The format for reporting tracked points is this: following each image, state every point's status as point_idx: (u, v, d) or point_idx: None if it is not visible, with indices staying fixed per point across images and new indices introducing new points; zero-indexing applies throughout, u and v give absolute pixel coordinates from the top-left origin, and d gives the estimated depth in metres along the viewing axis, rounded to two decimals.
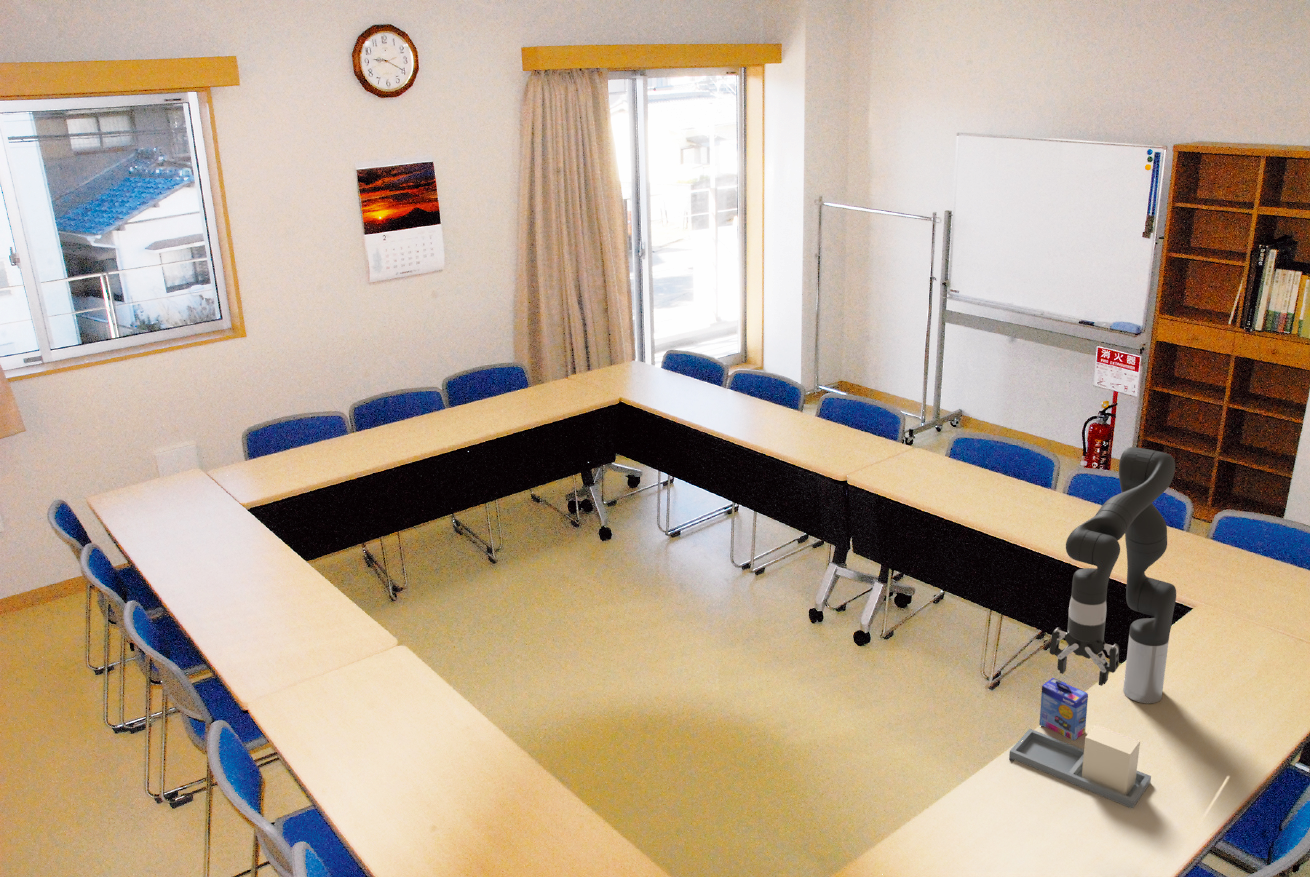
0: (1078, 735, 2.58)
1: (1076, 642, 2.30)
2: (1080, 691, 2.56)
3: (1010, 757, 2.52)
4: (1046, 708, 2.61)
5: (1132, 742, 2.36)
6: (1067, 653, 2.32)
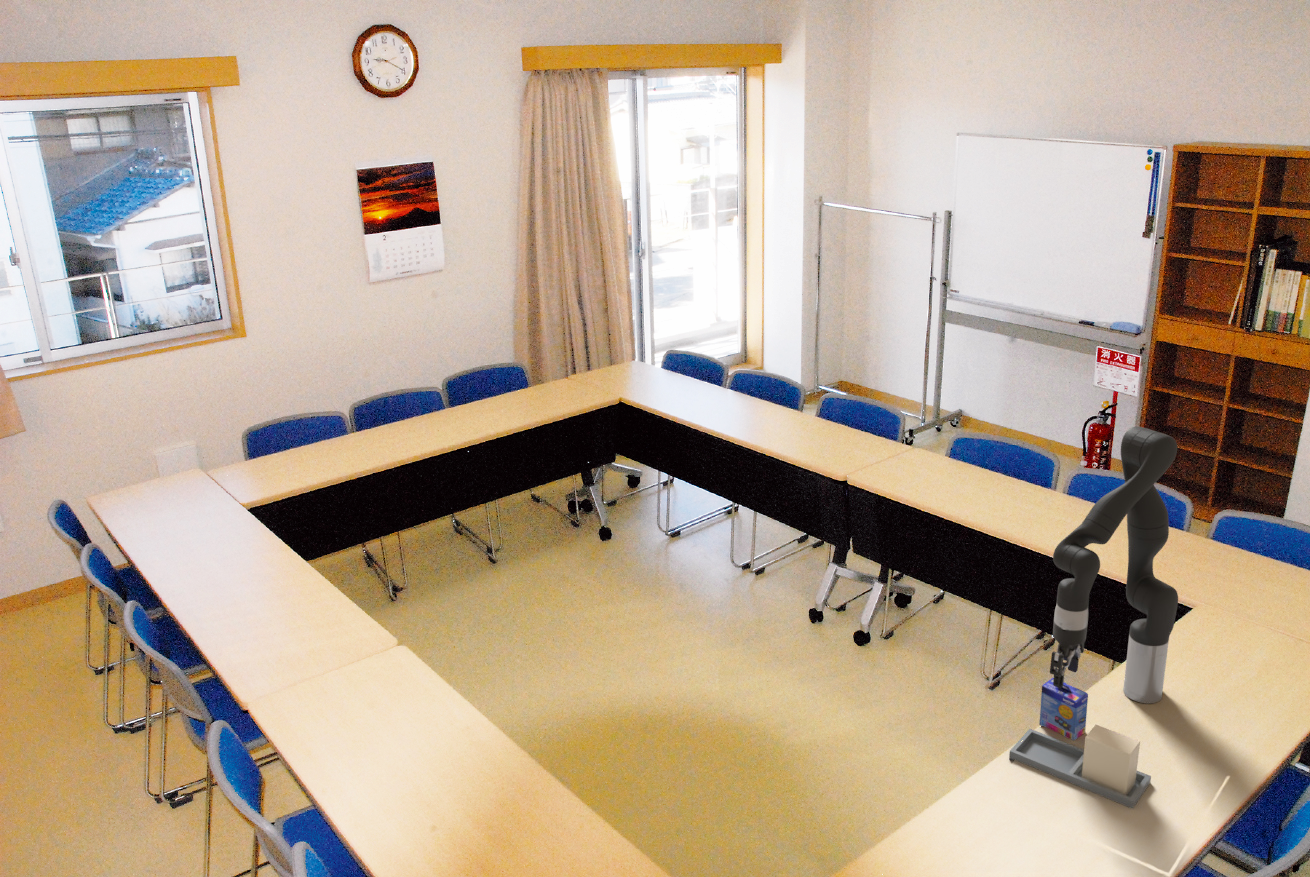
0: (1078, 735, 2.58)
1: (1072, 649, 2.51)
2: (1080, 691, 2.56)
3: (1010, 757, 2.52)
4: (1046, 708, 2.61)
5: (1132, 742, 2.36)
6: (1069, 664, 2.51)
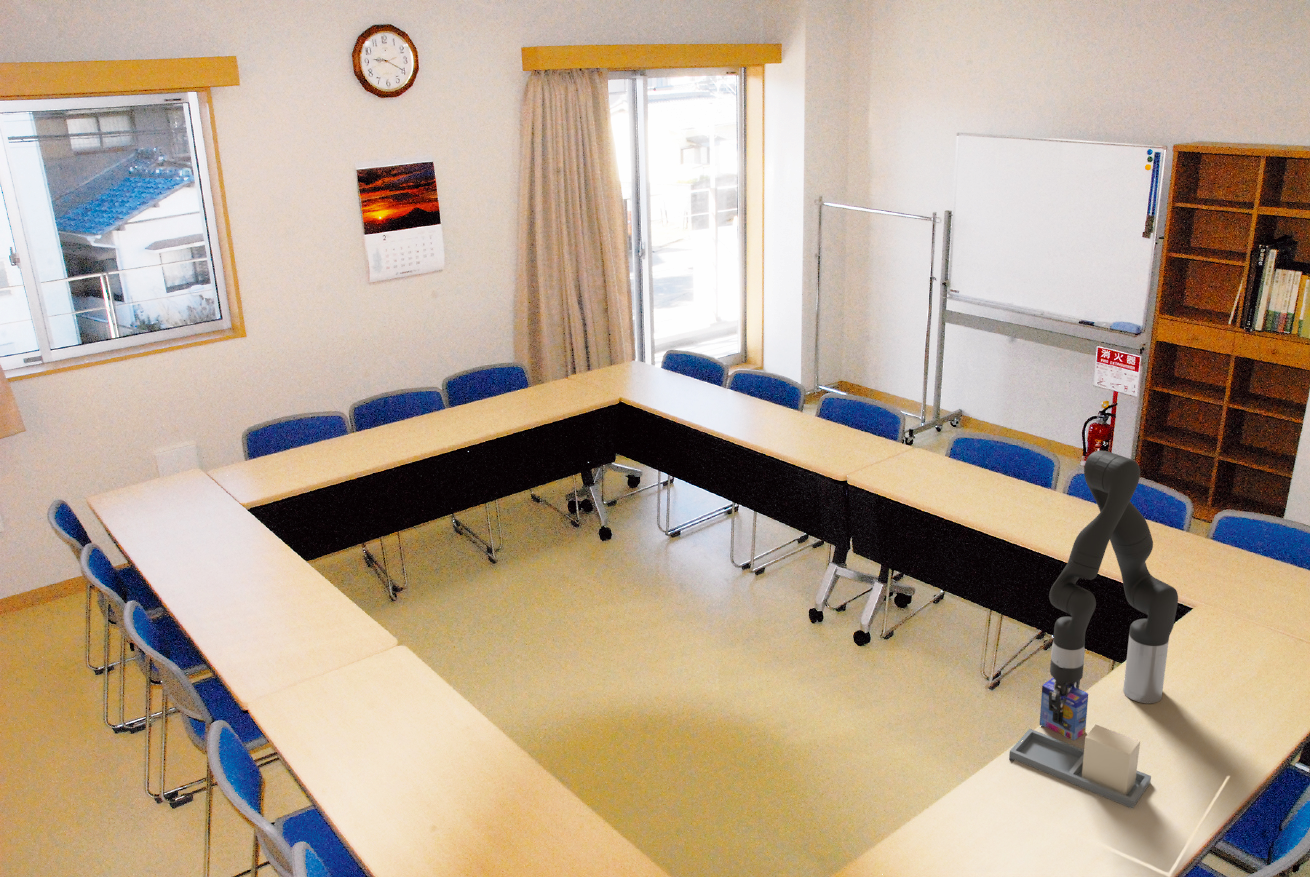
0: (1078, 735, 2.58)
1: (1069, 686, 2.55)
2: (1080, 691, 2.56)
3: (1010, 757, 2.52)
4: (1046, 708, 2.61)
5: (1132, 742, 2.36)
6: None
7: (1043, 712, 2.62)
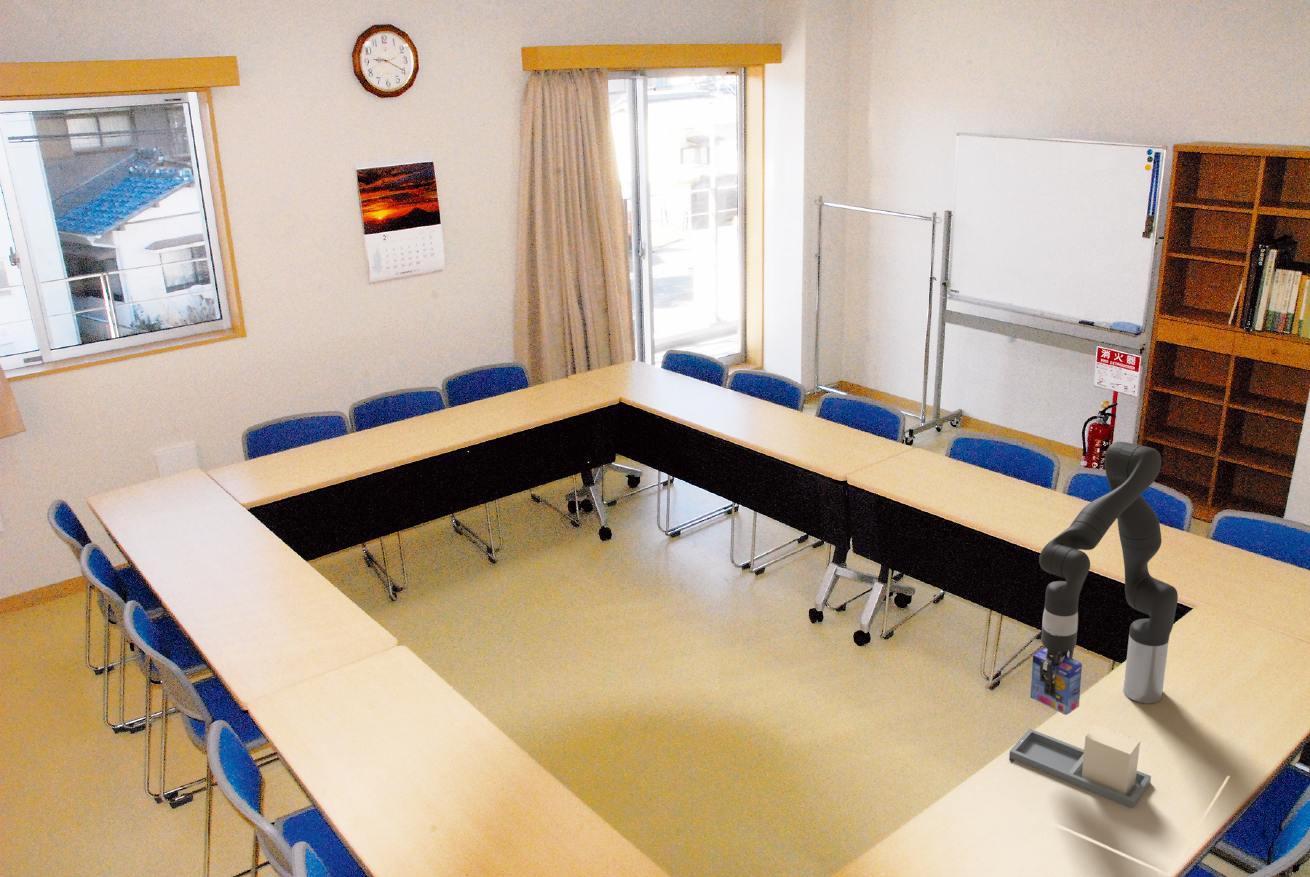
0: (1071, 708, 2.42)
1: (1061, 655, 2.39)
2: (1073, 660, 2.40)
3: (1010, 757, 2.52)
4: (1037, 679, 2.45)
5: (1132, 742, 2.36)
6: None
7: (1034, 684, 2.46)
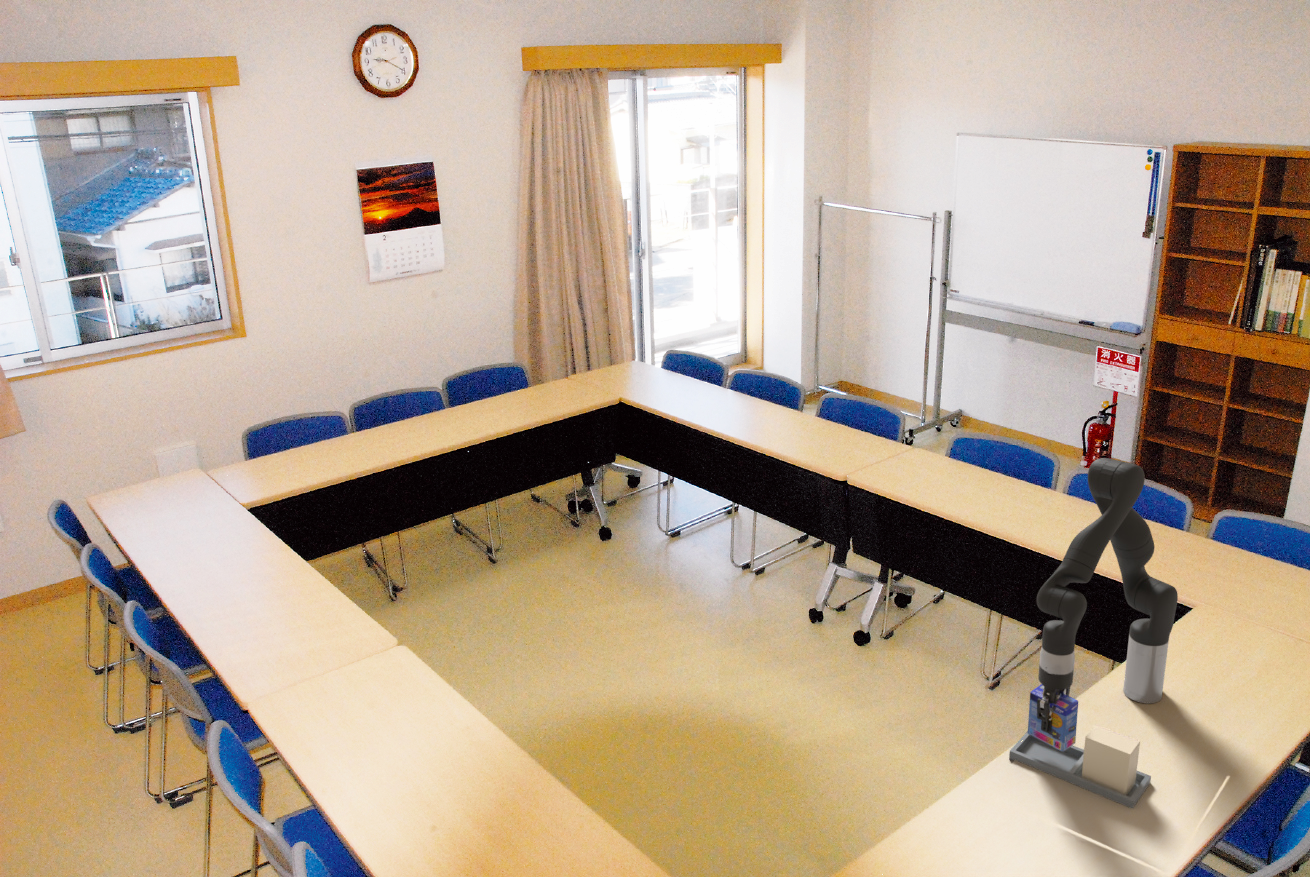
0: (1068, 744, 2.45)
1: (1058, 693, 2.43)
2: (1070, 698, 2.44)
3: (1010, 757, 2.52)
4: (1034, 715, 2.48)
5: (1132, 742, 2.36)
6: None
7: (1031, 720, 2.50)
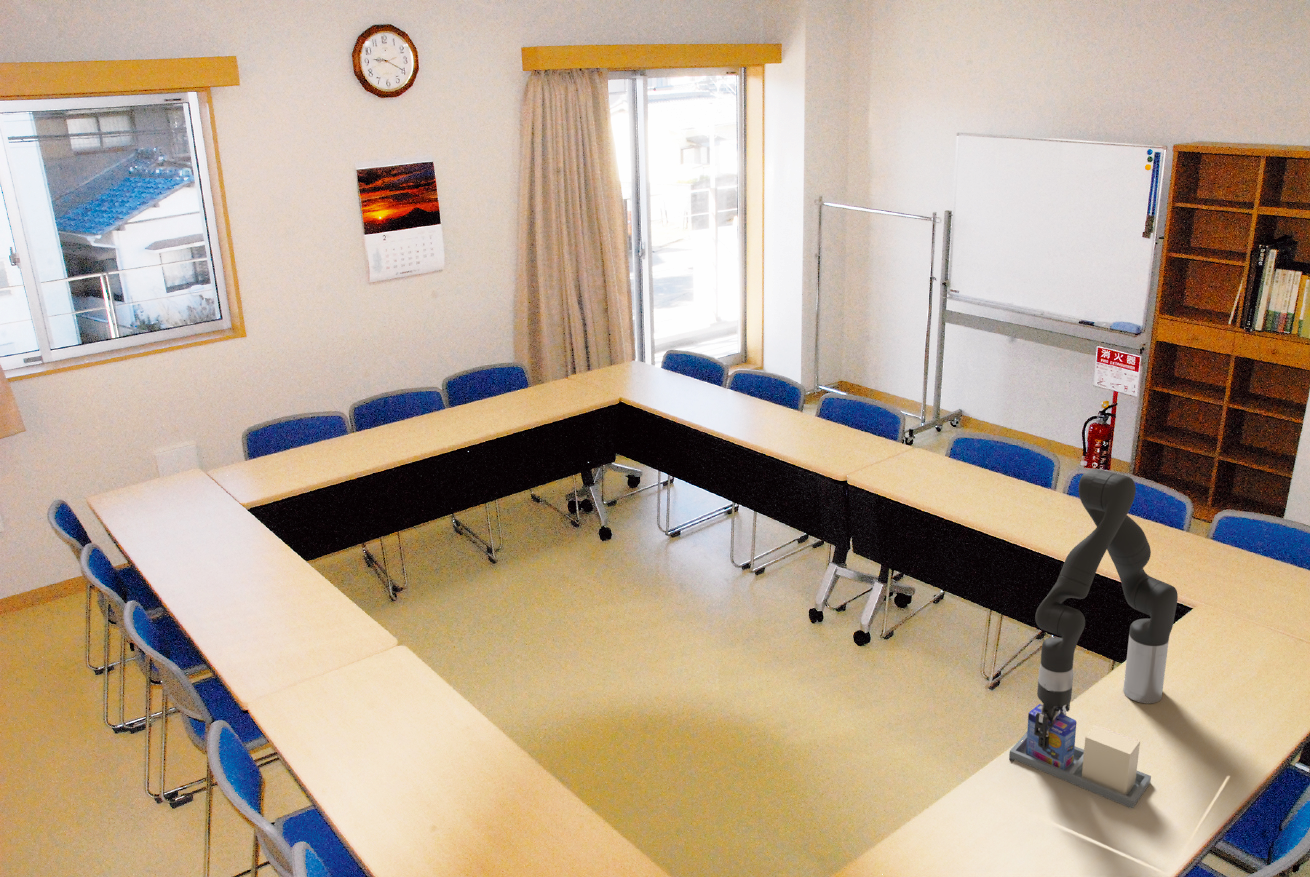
0: (1066, 764, 2.47)
1: (1057, 709, 2.44)
2: (1068, 718, 2.46)
3: (1010, 757, 2.52)
4: (1032, 736, 2.50)
5: (1132, 742, 2.36)
6: None
7: (1030, 740, 2.51)
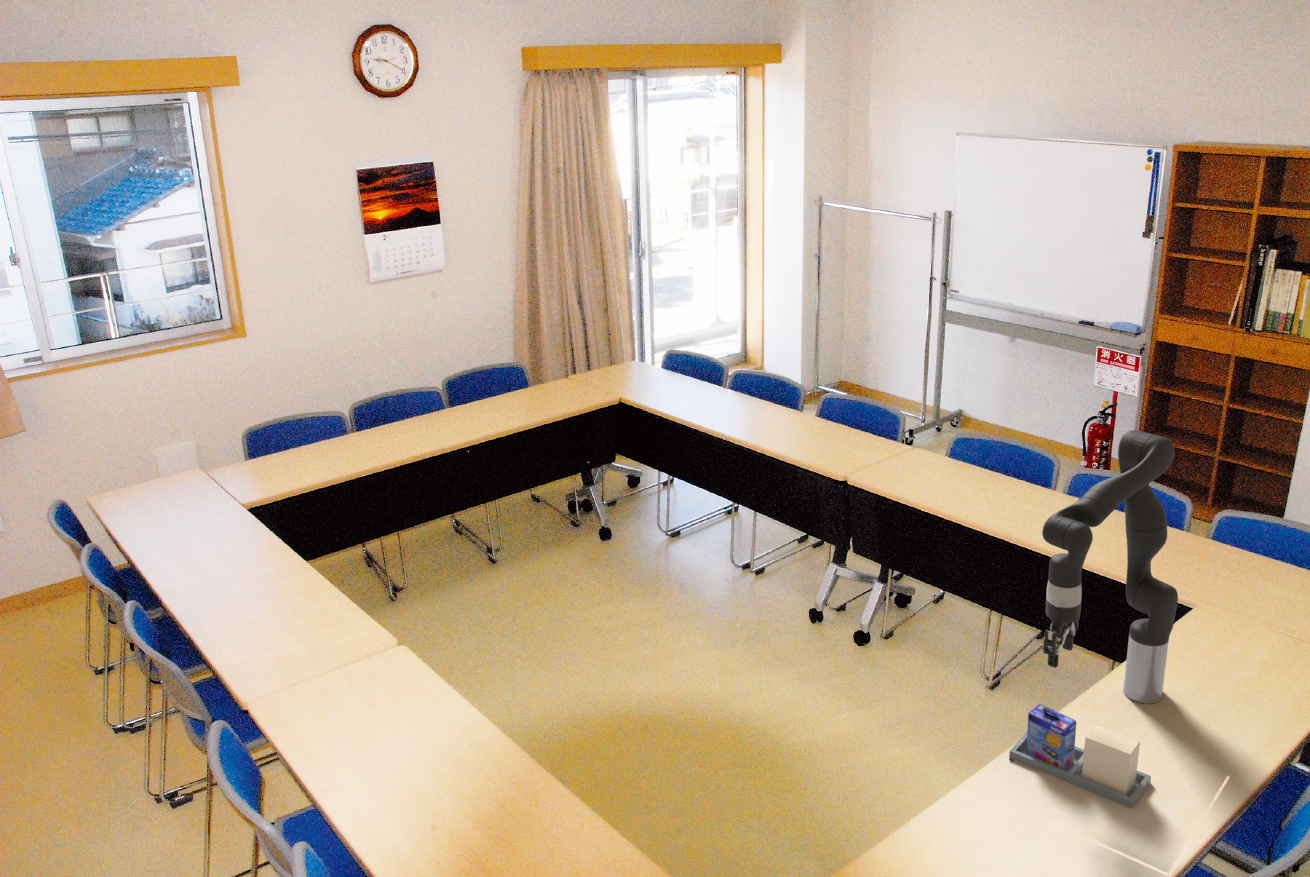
0: (1066, 764, 2.47)
1: (1066, 627, 2.41)
2: (1068, 718, 2.46)
3: (1010, 757, 2.52)
4: (1032, 736, 2.50)
5: (1132, 742, 2.36)
6: (1063, 643, 2.41)
7: (1030, 740, 2.51)
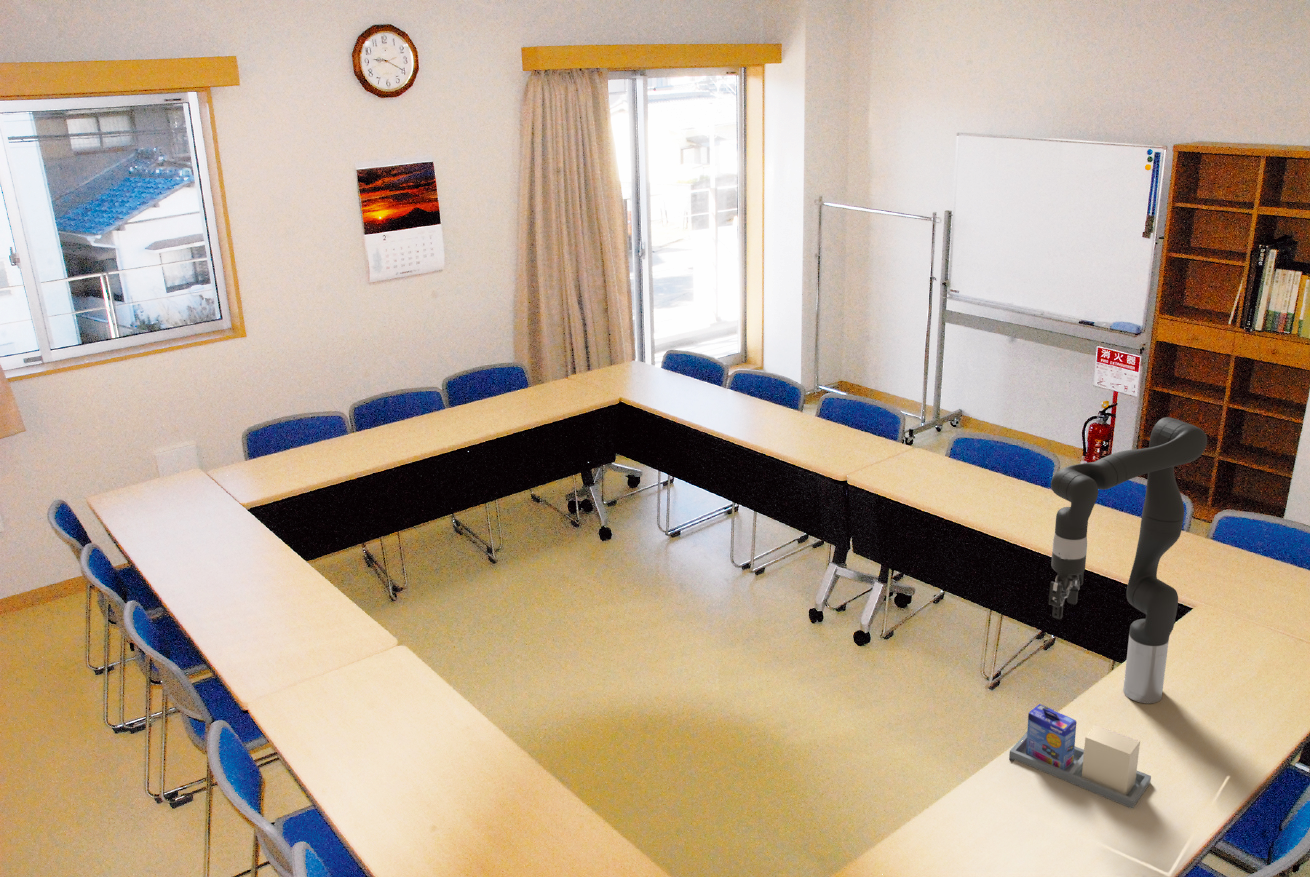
0: (1066, 764, 2.47)
1: (1071, 579, 2.47)
2: (1068, 718, 2.46)
3: (1010, 757, 2.52)
4: (1032, 736, 2.50)
5: (1132, 742, 2.36)
6: (1068, 594, 2.47)
7: (1030, 740, 2.51)
